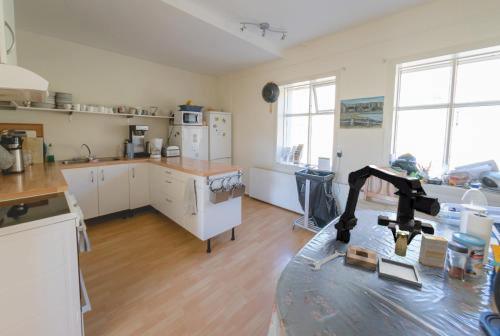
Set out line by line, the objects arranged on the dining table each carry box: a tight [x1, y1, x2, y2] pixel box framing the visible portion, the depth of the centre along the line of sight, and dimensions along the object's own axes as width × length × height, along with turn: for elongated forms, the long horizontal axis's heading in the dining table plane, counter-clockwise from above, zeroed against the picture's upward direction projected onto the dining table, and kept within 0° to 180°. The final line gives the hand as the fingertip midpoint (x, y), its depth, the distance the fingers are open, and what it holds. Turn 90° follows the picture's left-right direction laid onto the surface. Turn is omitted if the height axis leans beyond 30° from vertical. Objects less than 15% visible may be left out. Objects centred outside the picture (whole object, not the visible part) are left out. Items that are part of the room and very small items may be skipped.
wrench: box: [307, 249, 347, 272], centre depth 102 cm, size 25×2×5 cm
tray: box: [377, 255, 423, 289], centre depth 93 cm, size 14×14×2 cm
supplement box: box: [418, 233, 449, 269], centre depth 100 cm, size 8×5×13 cm, turn 71°
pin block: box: [345, 244, 378, 271], centre depth 102 cm, size 12×12×3 cm
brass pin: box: [393, 231, 409, 258], centre depth 91 cm, size 4×4×9 cm
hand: (401, 243), depth 91 cm, fingers closed on brass pin, 4 cm apart
